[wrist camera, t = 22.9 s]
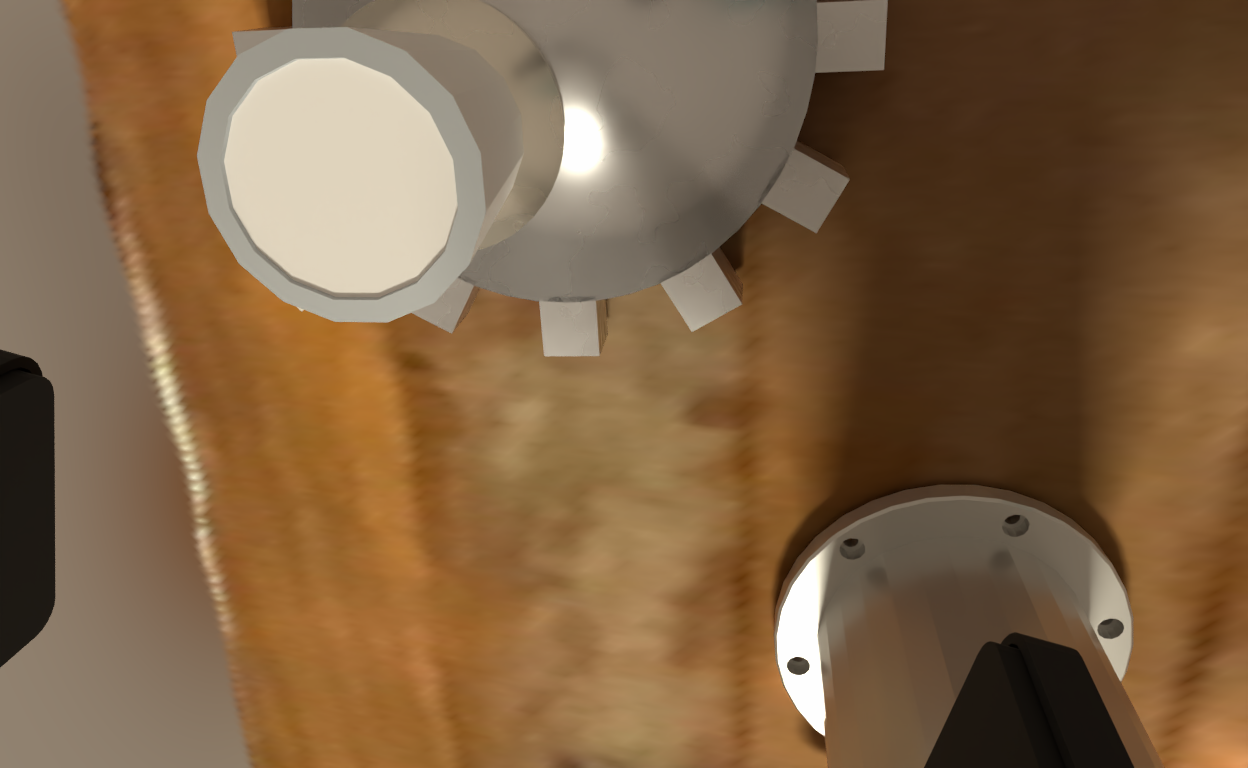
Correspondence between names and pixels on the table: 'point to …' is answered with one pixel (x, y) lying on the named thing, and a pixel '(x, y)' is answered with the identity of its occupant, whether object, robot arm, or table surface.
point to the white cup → (358, 166)
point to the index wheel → (635, 140)
